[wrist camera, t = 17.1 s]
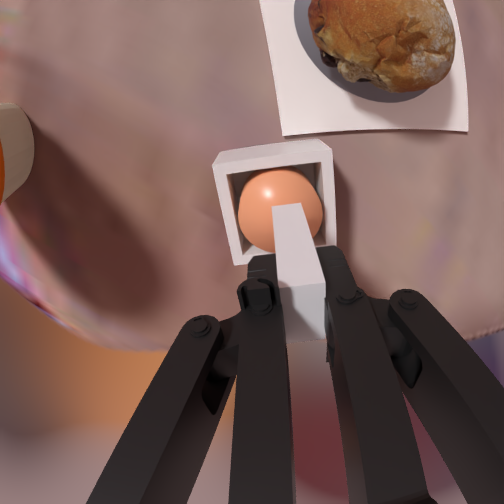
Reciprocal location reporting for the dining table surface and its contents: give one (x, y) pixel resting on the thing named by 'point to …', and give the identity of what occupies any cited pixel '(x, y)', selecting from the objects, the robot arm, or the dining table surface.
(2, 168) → the reusable coffee cup
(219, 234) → the dining table surface
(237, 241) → the button housing
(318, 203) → the button
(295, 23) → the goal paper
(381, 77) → the bread roll
